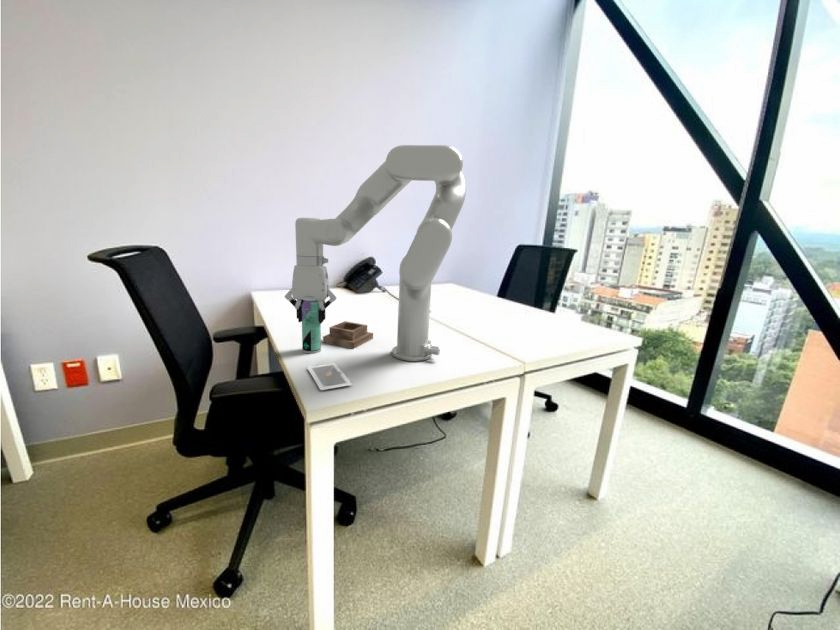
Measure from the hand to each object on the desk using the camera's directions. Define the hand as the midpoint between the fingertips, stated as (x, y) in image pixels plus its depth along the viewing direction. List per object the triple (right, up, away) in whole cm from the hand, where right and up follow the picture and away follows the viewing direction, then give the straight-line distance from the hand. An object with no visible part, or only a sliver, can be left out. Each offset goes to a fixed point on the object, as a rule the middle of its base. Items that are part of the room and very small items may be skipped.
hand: (311, 320), depth 113 cm
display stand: (+9, -7, +13) cm, 17 cm away
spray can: (-1, -9, +2) cm, 10 cm away
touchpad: (+9, -15, -16) cm, 24 cm away
